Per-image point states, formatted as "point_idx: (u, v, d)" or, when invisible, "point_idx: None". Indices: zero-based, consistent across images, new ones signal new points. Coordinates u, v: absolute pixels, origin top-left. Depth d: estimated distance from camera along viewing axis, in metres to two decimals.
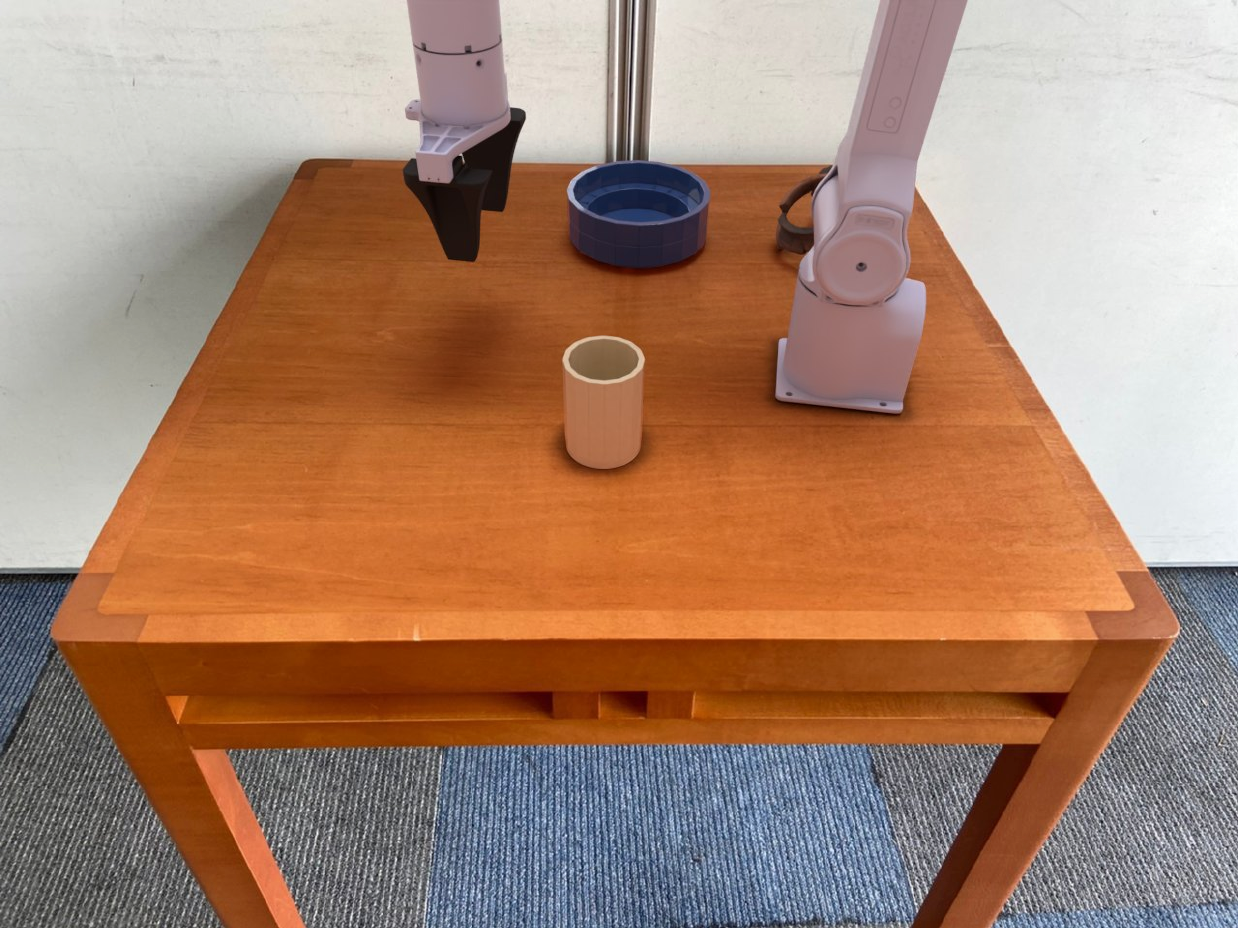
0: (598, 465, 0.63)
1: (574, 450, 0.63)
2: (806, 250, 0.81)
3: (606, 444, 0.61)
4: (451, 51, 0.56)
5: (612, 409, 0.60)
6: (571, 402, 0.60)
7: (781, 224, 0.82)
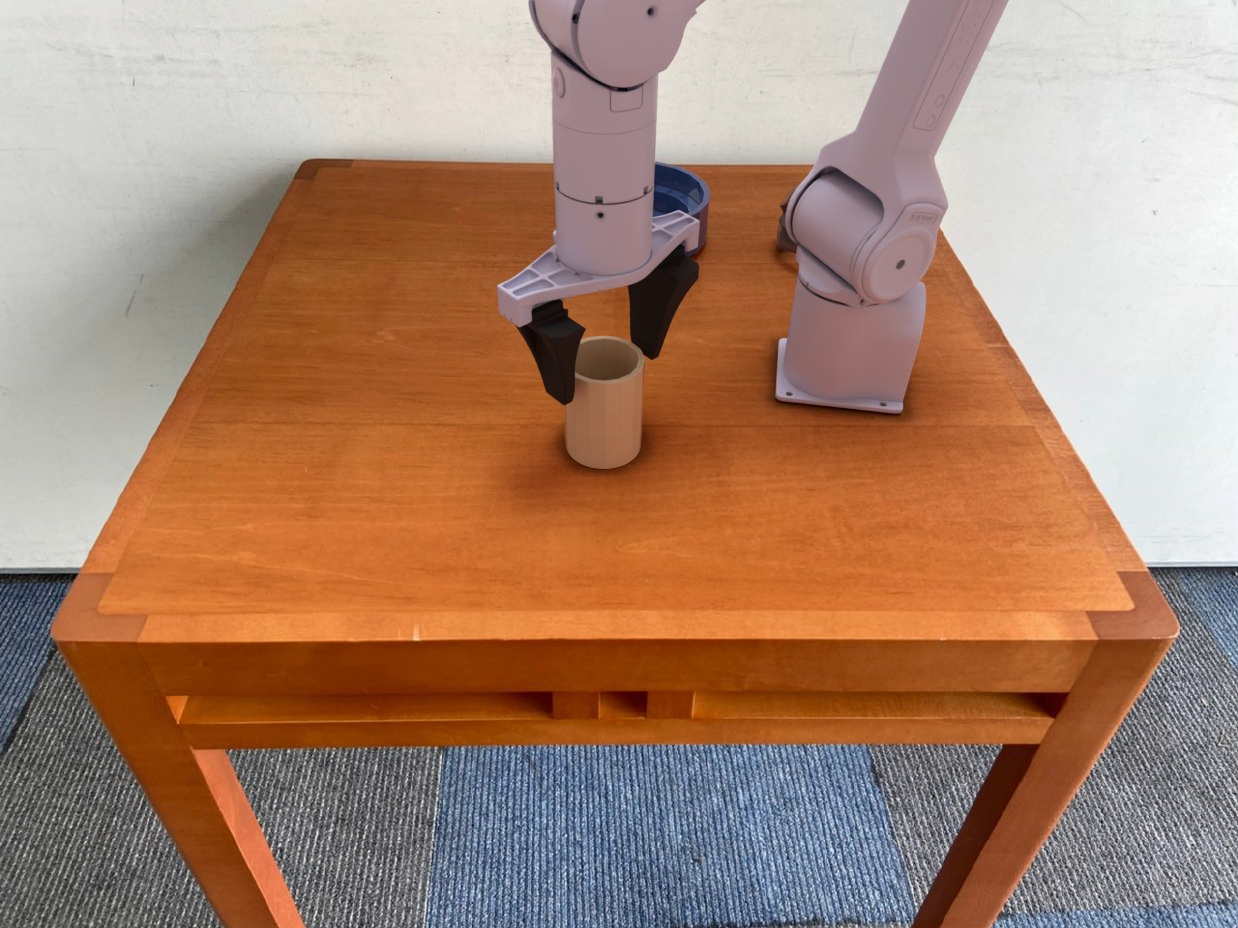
0: (598, 465, 0.63)
1: (574, 450, 0.63)
2: None
3: (606, 444, 0.61)
4: (632, 197, 0.50)
5: (612, 409, 0.60)
6: (571, 402, 0.60)
7: (782, 224, 0.82)
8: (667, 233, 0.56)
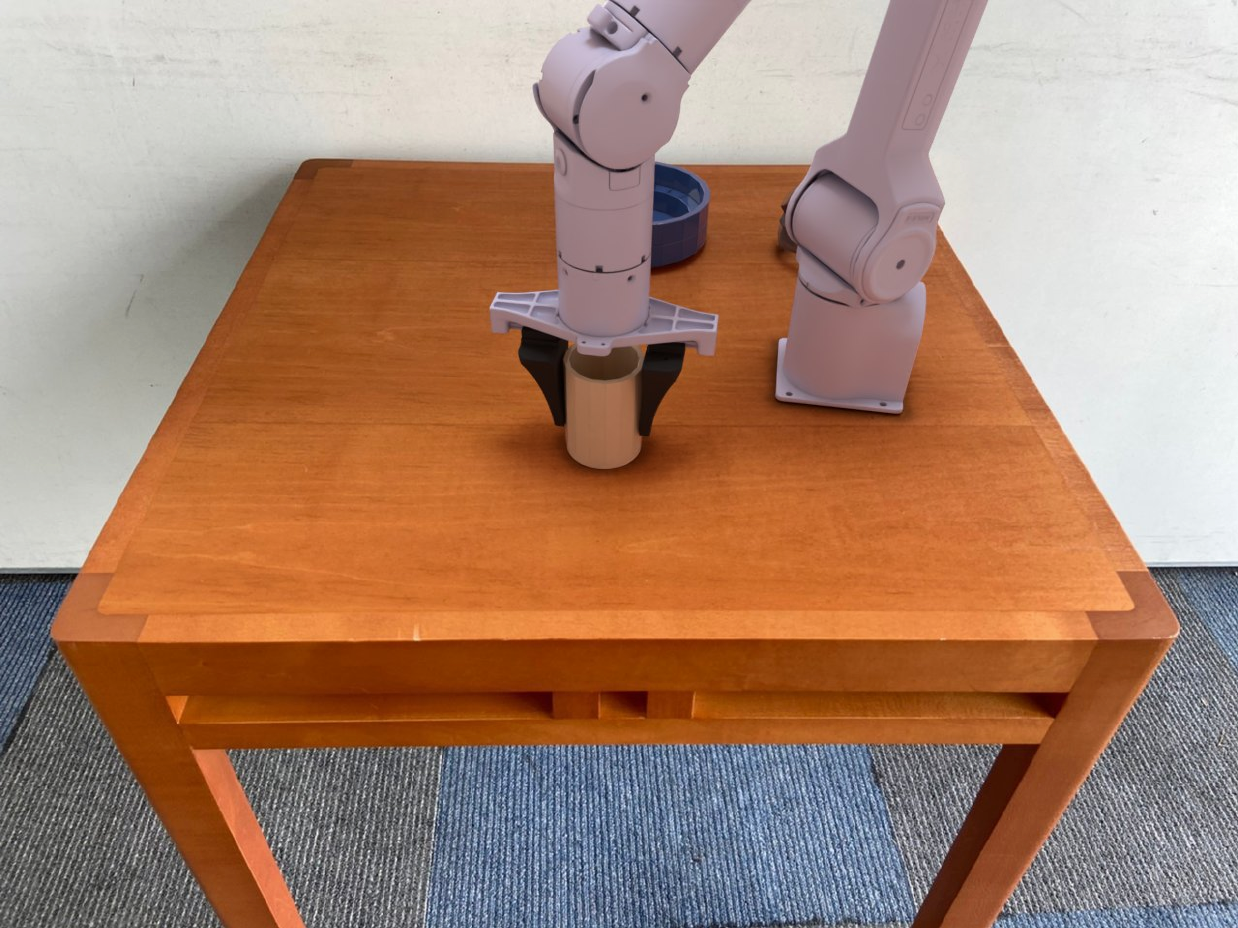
0: (599, 465, 0.63)
1: (575, 450, 0.63)
2: None
3: (607, 444, 0.61)
4: (630, 266, 0.53)
5: (613, 409, 0.59)
6: (572, 402, 0.60)
7: (783, 224, 0.82)
8: (537, 297, 0.59)
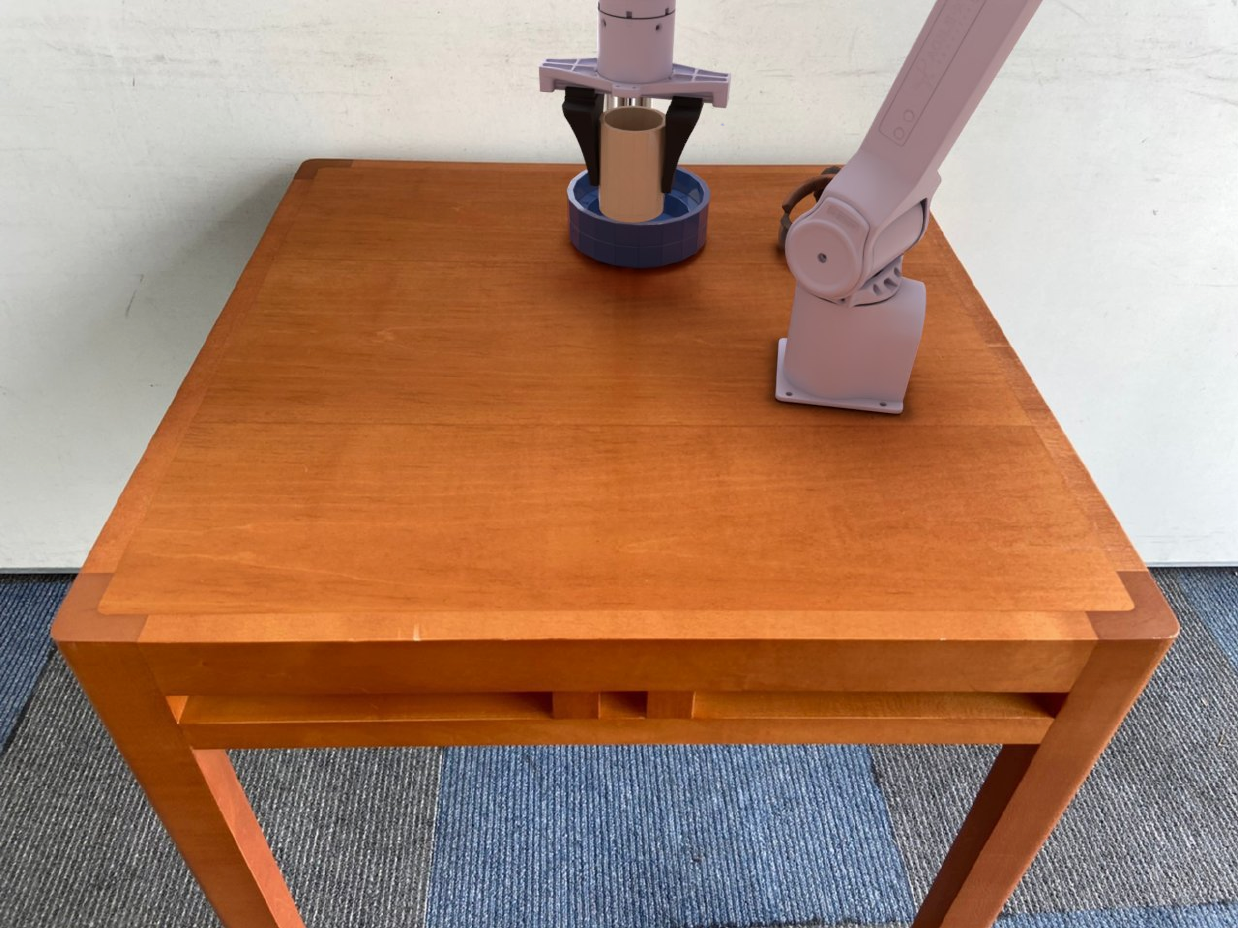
0: (627, 218, 0.74)
1: (607, 206, 0.74)
2: None
3: (634, 196, 0.72)
4: (615, 14, 0.64)
5: (640, 160, 0.70)
6: (605, 156, 0.71)
7: (784, 225, 0.82)
8: (579, 61, 0.70)
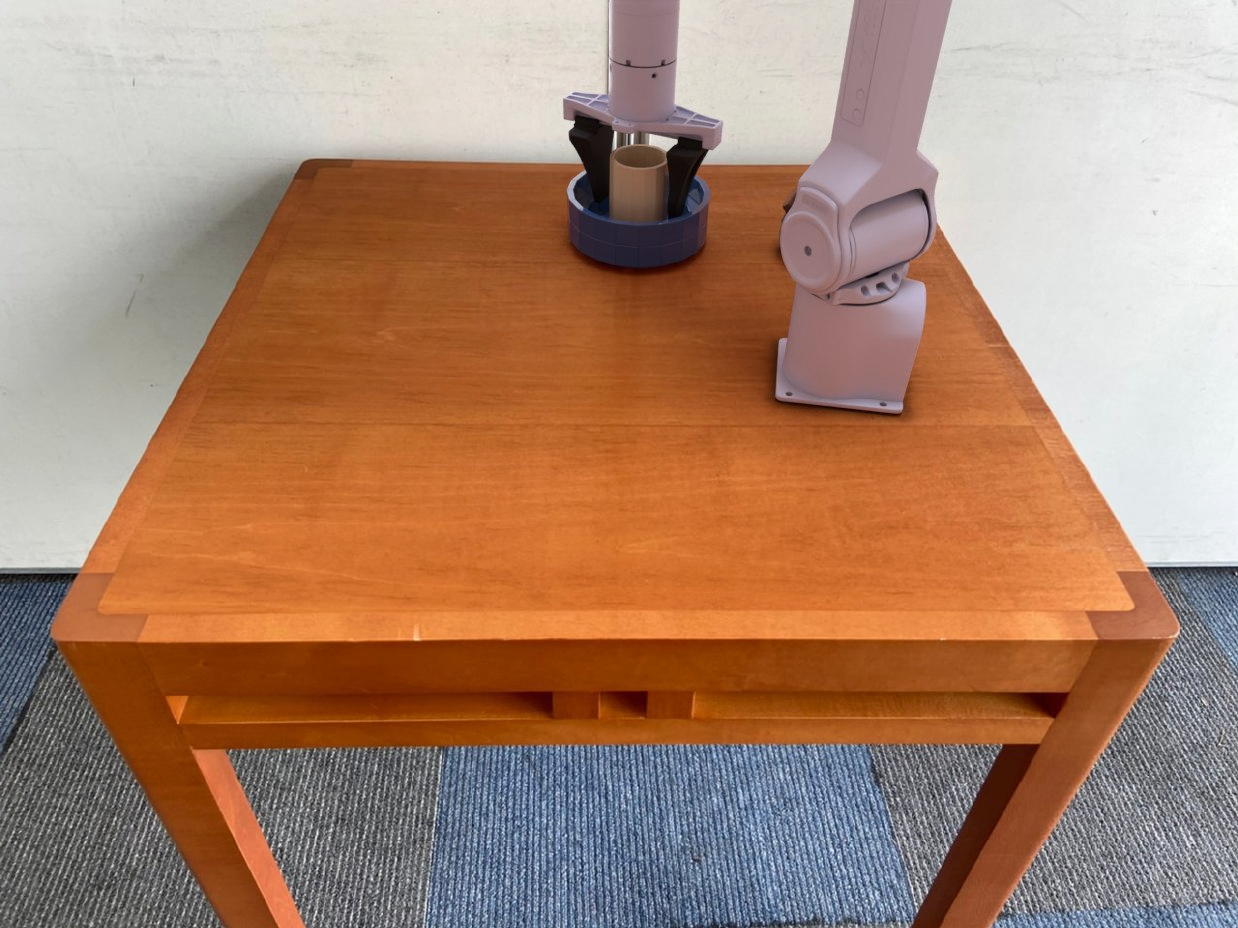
0: None
1: None
2: None
3: None
4: (618, 61, 0.74)
5: (638, 192, 0.81)
6: (611, 186, 0.82)
7: None
8: (599, 97, 0.81)
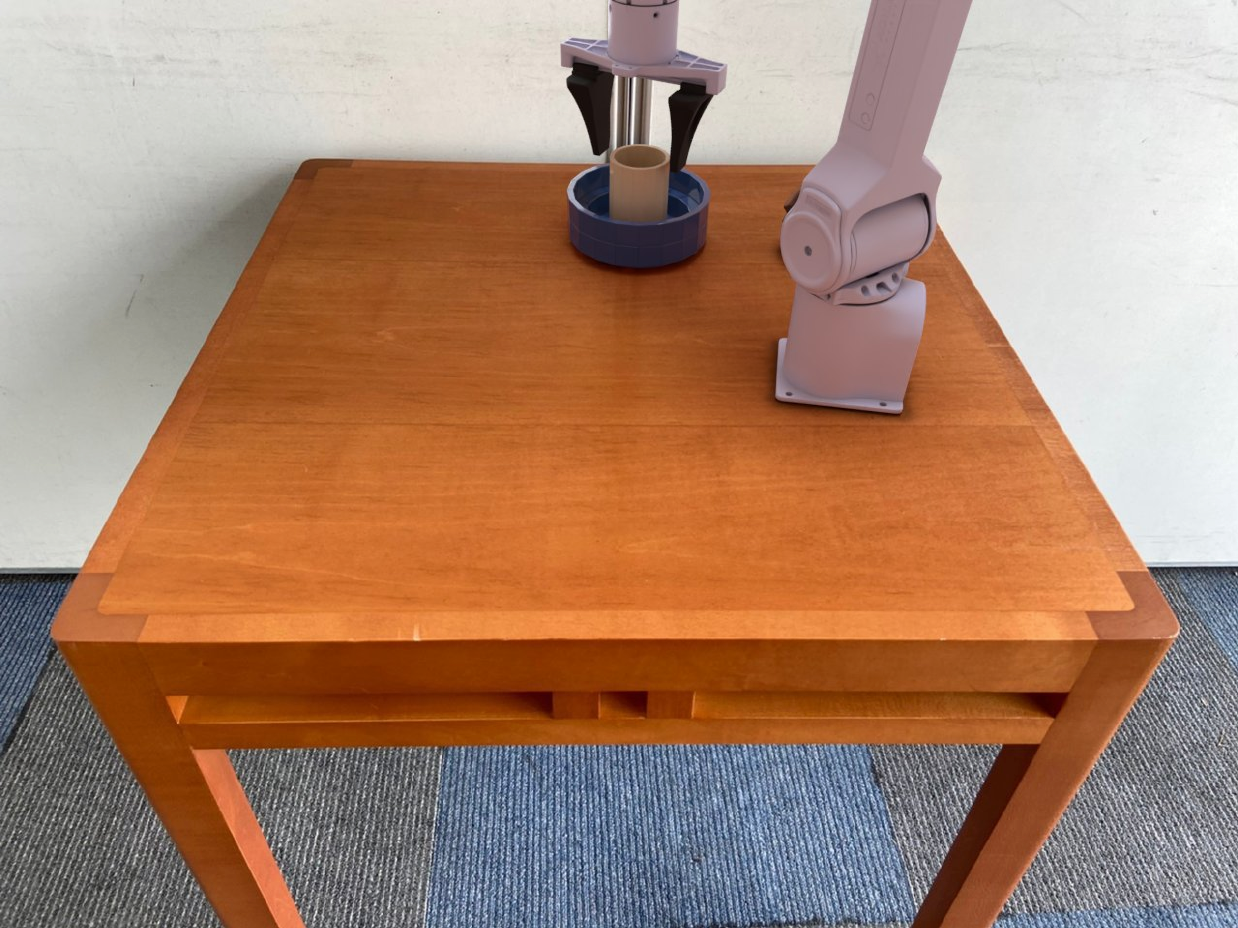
0: None
1: None
2: None
3: None
4: (618, 0, 0.71)
5: (638, 192, 0.81)
6: (611, 186, 0.82)
7: None
8: (598, 42, 0.77)
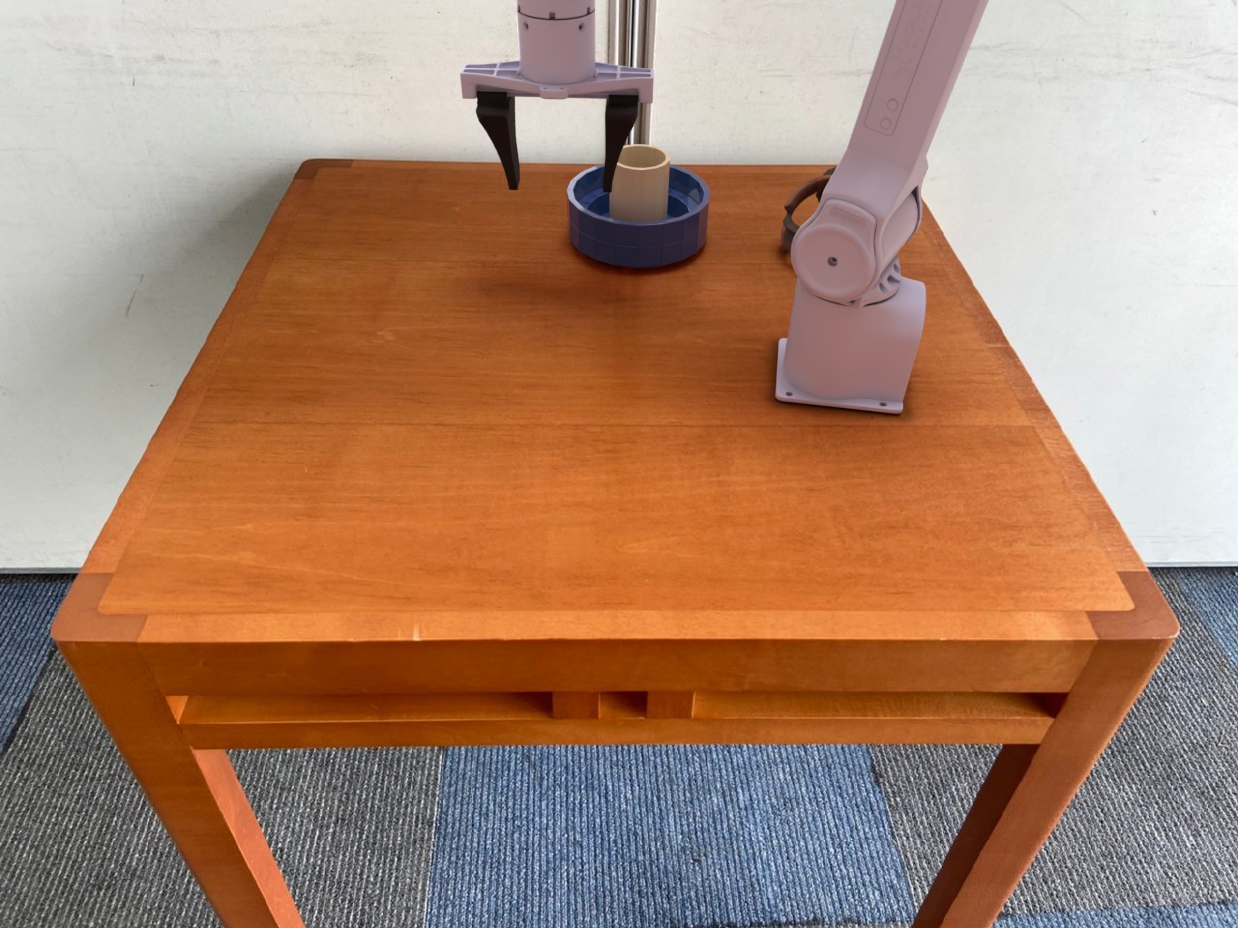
0: None
1: None
2: None
3: None
4: (538, 15, 0.63)
5: (638, 192, 0.81)
6: None
7: (786, 225, 0.82)
8: (499, 66, 0.69)
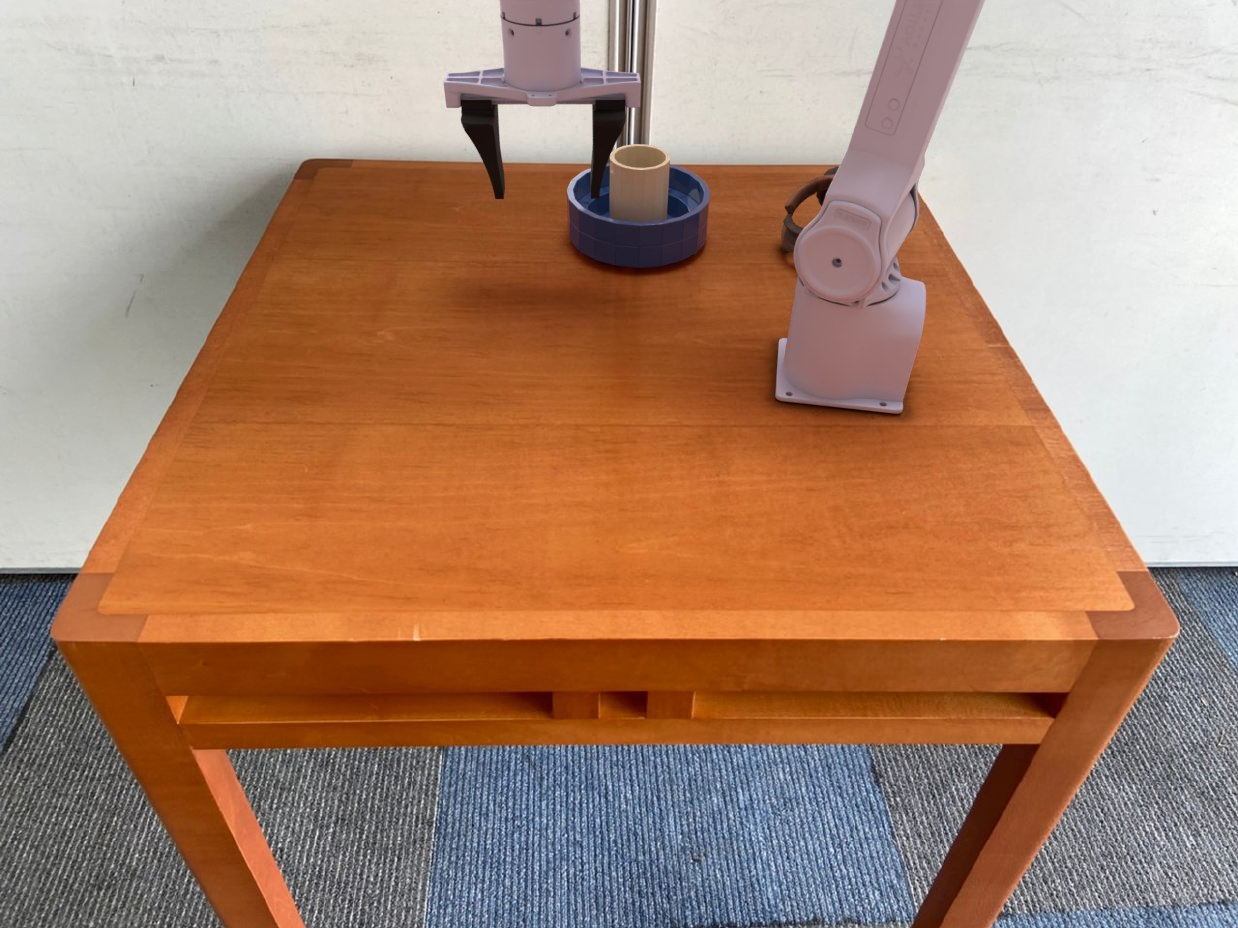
0: None
1: None
2: None
3: None
4: (524, 22, 0.62)
5: (638, 192, 0.81)
6: (611, 186, 0.82)
7: (786, 225, 0.82)
8: (482, 73, 0.68)
